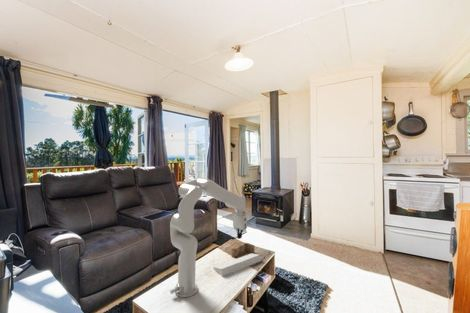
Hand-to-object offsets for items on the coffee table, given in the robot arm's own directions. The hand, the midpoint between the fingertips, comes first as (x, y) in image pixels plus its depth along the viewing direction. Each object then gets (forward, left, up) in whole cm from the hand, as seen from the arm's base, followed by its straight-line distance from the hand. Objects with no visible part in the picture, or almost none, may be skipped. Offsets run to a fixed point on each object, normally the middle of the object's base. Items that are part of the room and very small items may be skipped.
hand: (239, 238), depth 152 cm
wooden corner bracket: (+12, +5, -18) cm, 22 cm away
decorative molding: (-3, -1, -19) cm, 19 cm away
